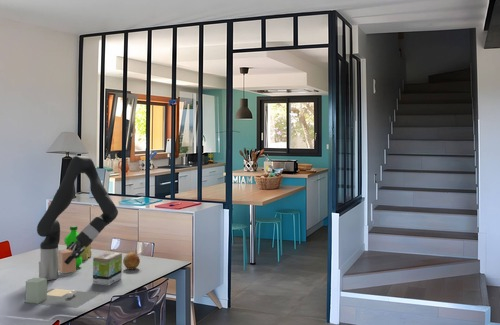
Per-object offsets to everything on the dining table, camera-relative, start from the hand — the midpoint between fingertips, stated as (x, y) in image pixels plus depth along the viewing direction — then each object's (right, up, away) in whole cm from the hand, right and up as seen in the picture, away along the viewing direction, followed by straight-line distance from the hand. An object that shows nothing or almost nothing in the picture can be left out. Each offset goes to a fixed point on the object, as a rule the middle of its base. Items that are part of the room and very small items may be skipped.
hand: (63, 261), depth 243 cm
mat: (0, -18, -1) cm, 18 cm away
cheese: (-18, -14, +79) cm, 82 cm away
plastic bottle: (-15, -15, +57) cm, 61 cm away
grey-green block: (-11, -17, -6) cm, 21 cm away
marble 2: (+4, -17, +2) cm, 18 cm away
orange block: (+1, -5, +1) cm, 5 cm away
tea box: (+13, -17, +29) cm, 36 cm away
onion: (+20, -16, +55) cm, 60 cm away
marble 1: (+4, -17, -2) cm, 18 cm away
